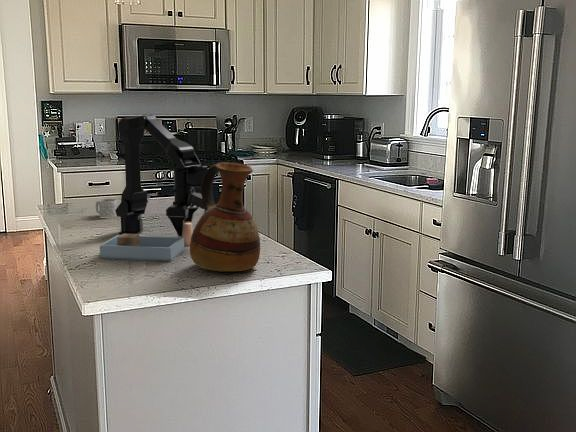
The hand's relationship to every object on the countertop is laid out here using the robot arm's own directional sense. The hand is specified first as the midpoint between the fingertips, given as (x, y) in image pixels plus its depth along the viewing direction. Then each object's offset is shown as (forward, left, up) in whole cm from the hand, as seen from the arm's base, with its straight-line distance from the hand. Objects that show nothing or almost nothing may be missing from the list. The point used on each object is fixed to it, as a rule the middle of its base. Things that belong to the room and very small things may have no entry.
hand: (184, 232), depth 205 cm
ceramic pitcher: (+19, -25, -4) cm, 32 cm away
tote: (-9, -14, -4) cm, 17 cm away
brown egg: (0, 0, -4) cm, 4 cm away
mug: (-43, +38, -4) cm, 57 cm away
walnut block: (-13, -14, -3) cm, 20 cm away
